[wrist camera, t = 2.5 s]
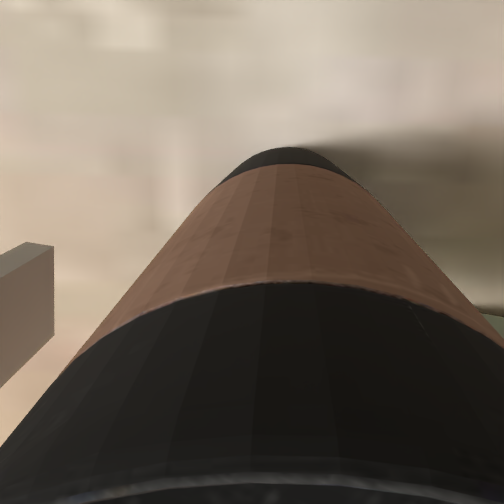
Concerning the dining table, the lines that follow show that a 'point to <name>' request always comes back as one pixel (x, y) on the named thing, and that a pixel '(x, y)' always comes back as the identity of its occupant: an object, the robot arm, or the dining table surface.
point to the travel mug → (275, 365)
